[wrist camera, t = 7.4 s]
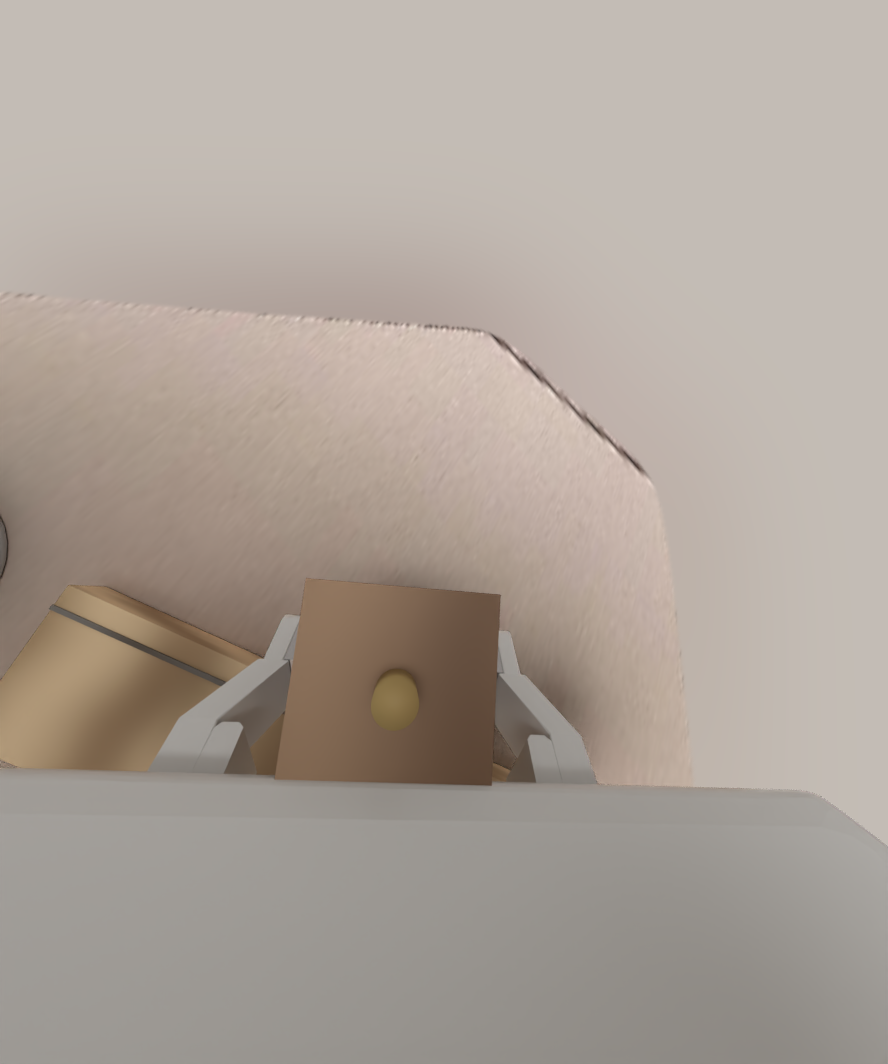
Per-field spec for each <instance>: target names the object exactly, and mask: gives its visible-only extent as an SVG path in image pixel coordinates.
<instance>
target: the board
mask: <svg viewBox="0 0 888 1064" xmlns="http://www.w3.org/2000/svg"><path fill="white" fill-rule="evenodd" d="M49 609H50V611H49V613H48V614H47V616H46V617H45V619H44V620H43V621H42V623H41V624H40V626H39V627H38V628H37V630H36V631H35V633H34V634H33V635H32V637H31V638H30V640H29V641H28V642H27V644H26V645H25V647H24V648H23V650H22V651H21V652H20V654H19V655H18V657H17V658H16V659H15V661H14V662H13V664H12V665H11V666H10V668H9V669H8V671H7V672H6V673H5V675H4V676H3V678H2V679H1V681H0V760H3V761H5V762H7V763H10V764H12V765H14V766H17V767H19V768H41V769H77V770H112V771H147V770H148V769H149V767H150V765H151V764H152V762H153V760H154V759H155V757H156V755H157V754H158V752H159V750H160V749H161V747H162V745H163V744H164V742H165V740H166V739H167V737H168V735H169V734H170V732H171V730H172V729H173V727H174V725H175V724H176V722H177V720H178V719H179V717H181V716H182V715H183V714H185V713H186V712H187V711H189V710H190V709H192V708H193V707H194V706H196V705H197V704H198V703H200V702H201V701H202V700H204V699H205V698H206V697H208V696H209V695H210V694H212V693H213V692H214V691H216V690H217V689H218V688H220V687H221V686H222V685H224V684H225V683H226V682H228V681H229V680H230V679H232V678H233V677H234V676H236V675H237V674H238V673H240V672H241V671H242V670H244V669H245V668H247V667H248V666H249V665H251V664H252V663H253V662H255V661H256V660H257V659H264V658H262V657H260V656H258V655H255V654H253V653H251V652H249V651H246V650H244V649H242V648H240V647H238V646H235V645H233V644H231V643H229V642H227V641H224V640H222V639H220V638H218V637H216V636H213V635H211V634H209V633H207V632H205V631H202V630H200V629H198V628H196V627H194V626H191V625H189V624H187V623H185V622H183V621H180V620H178V619H176V618H174V617H172V616H169V615H167V614H165V613H163V612H161V611H158V610H156V609H154V608H152V607H150V606H147V605H145V604H143V603H141V602H139V601H136V600H134V599H132V598H130V597H128V596H125V595H123V594H121V593H119V592H117V591H114V590H112V589H110V588H108V587H102V586H81V585H68V586H67V588H66V589H65V590H64V592H63V593H62V595H61V596H60V597H59V599H58V600H57V602H56V603H55V604H54V605H52V606H51V607H50V608H49ZM284 715H285V711H284V712H283V713H282V714H281V715H280V717H279V718H278V719H277V720H276V721H275V722H274V723H273V724H272V725H271V726H270V727H269V728H268V729H267V730H266V731H265V732H264V734H263V735H262V736H261V737H260V738H259V739H258V740H257V741H256V742H255V743H254V744H253V745H252V746H251V747H250V751H251V754H252V758H253V761H254V764H255V767H256V771H257V773H256V775H275V772H276V766H277V760H278V753H279V747H280V740H281V734H282V728H283V721H284ZM510 771H511V770H509V769H506V768H504V767H502V766H500V765H498V764H495V763H493V770H492V781H498V782H506V778H507V776H508V774H509V773H510Z"/></svg>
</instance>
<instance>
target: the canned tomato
mask: <svg viewBox="0 0 888 1064" xmlns="http://www.w3.org/2000/svg"><path fill="white" fill-rule="evenodd" d="M6 554H7V539H6V533H5V527H4V525H3V523H2V521H1V518H0V577H1V574H2V571H3V568H4V564H5V561H6Z"/></svg>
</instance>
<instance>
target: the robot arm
mask: <svg viewBox="0 0 888 1064" xmlns="http://www.w3.org/2000/svg"><path fill="white" fill-rule="evenodd" d="M299 619H300V616H299V615H288V614H286V615H285V616H284V617H283V618H282V620H281V622H280V624H279V626H278V629H277V631H276V633H275V635H274V637H273V639H272V642H271V644H270V646H269V648H268V650H267V652H266V655H265V657H264V659H257V660H256V661H255V662H253V663H252V664H251V665H249V666H248V667H247V668H245V669H244V670H242V671H241V672H240V673H238V674H237V675H236V676H234V677H233V678H232V679H230V680H229V681H228V682H226V683H225V684H224V685H222V686H221V687H220V688H218V689H217V690H216V691H214V692H213V693H212V694H210V695H209V696H208V697H206V698H205V699H204V700H202V701H201V702H200V703H198V704H197V705H196V706H194V707H193V708H192V709H190V710H189V711H187V712H186V713H185V714H183V715H182V716H181V717H179V719H178V720H177V722H176V724H175V725H174V727H173V729H172V730H171V732H170V734H169V735H168V737H167V739H166V740H165V742H164V744H163V745H162V747H161V749H160V750H159V752H158V754H157V755H156V757H155V759H154V760H153V762H152V764H151V765H150V767H149V769H148V770H147V771H112V770H77V769H41V768H6V767H0V1064H888V846H887V845H885V844H884V843H883V842H881V841H880V840H879V839H878V838H877V837H875V836H874V835H873V834H871V833H870V832H869V831H867V830H866V829H865V828H864V827H862V826H861V825H859V824H858V823H857V822H856V821H854V820H853V819H852V818H850V817H849V816H848V815H846V814H845V813H844V812H842V811H841V810H839V809H838V808H837V807H836V806H834V805H833V804H831V803H830V802H828V801H827V800H825V799H824V798H822V797H821V796H819V795H817V794H815V793H811V792H808V791H802V790H780V789H778V790H777V789H744V788H743V789H742V788H709V787H674V786H638V785H602V784H597V781H596V778H595V775H594V772H593V769H592V766H591V763H590V760H589V757H588V755H587V752H586V749H585V746H584V743H583V740H582V737H581V735H580V734H579V733H578V732H577V731H576V730H575V729H574V728H573V726H572V725H571V724H570V723H569V722H568V721H567V720H566V719H565V718H564V717H563V716H562V715H561V713H560V712H559V711H558V710H557V709H556V708H555V707H554V706H553V705H552V704H551V703H550V701H549V700H548V699H547V698H546V697H545V696H544V695H543V694H542V693H541V692H540V691H539V689H538V688H537V687H536V686H535V685H534V684H533V683H532V682H531V681H530V680H529V679H528V678H527V676H526V675H521V674H520V670H519V665H518V661H517V657H516V653H515V649H514V645H513V641H512V637H511V633H510V632H509V631H500V630H499V639H498V661H497V683H496V705H495V725H496V727H497V729H498V730H499V732H500V733H501V735H502V736H503V738H504V739H505V741H506V742H507V744H508V746H509V747H510V749H511V750H512V752H513V753H514V755H515V756H516V758H517V760H516V762H515V763H514V765H513V767H512V769H511V771H510V773H509V774H508V776H507V778H506V782H498V781H492V786H485V785H449V784H414V783H378V782H343V781H308V780H274V779H275V775H256V773H257V771H256V767H255V764H254V761H253V758H252V754H251V751H250V747H251V746H252V745H253V744H254V743H255V742H256V741H257V740H258V739H259V738H260V737H261V736H262V735H263V734H264V732H265V731H266V730H267V729H268V728H269V727H270V726H271V725H272V724H273V723H274V722H275V721H276V720H277V719H278V718H279V717H280V715H281V714H282V713H283V712H284V711H285V708H286V702H287V696H288V689H289V683H290V677H291V670H292V664H293V657H294V651H295V645H296V638H297V632H298V625H299Z"/></svg>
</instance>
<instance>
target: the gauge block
mask: <svg viewBox="0 0 888 1064" xmlns="http://www.w3.org/2000/svg"><path fill="white" fill-rule="evenodd" d="M500 596H501V595H498V594H486V593H474V592H462V591H451V590H439V589H427V588H415V587H404V586H392V585H380V584H368V583H357V582H345V581H333V580H322V579H310V578H306V581H305V587H304V594H303V600H302V606H301V613H300V619H299V625H298V632H297V638H296V645H295V651H294V657H293V664H292V670H291V677H290V683H289V689H288V696H287V702H286V708H285V715H284V721H283V728H282V734H281V740H280V747H279V753H278V760H277V766H276V772H275V779H274V780H308V781H343V782H378V783H414V784H449V785H485V786H492V770H493V748H494V726H495V705H496V683H497V661H498V639H499V617H500Z"/></svg>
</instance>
